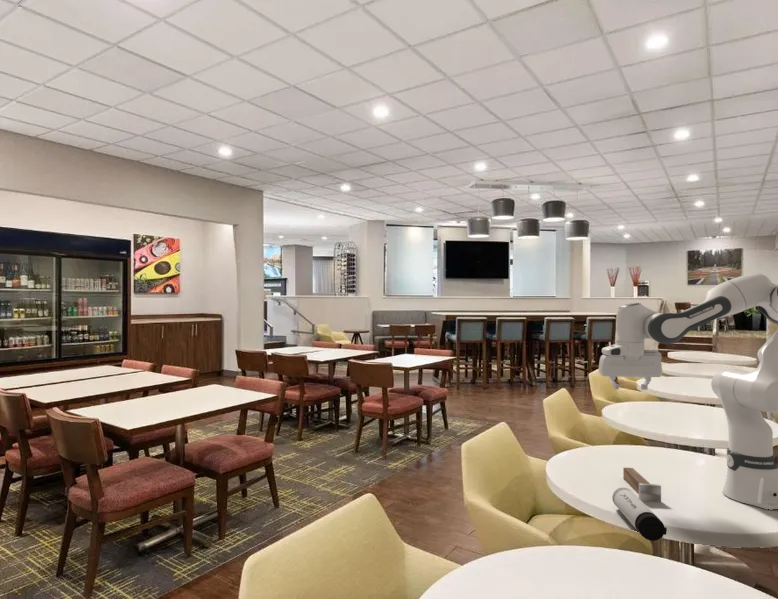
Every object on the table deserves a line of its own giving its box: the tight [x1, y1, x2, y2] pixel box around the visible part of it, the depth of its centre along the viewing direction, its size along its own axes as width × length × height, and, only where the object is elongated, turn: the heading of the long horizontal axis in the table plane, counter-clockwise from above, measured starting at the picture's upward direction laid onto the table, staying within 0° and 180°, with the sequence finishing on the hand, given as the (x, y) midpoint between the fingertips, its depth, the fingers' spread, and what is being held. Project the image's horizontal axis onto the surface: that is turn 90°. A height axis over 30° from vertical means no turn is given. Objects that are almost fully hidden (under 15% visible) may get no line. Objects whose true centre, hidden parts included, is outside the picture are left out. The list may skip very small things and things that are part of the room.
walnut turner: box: [622, 467, 662, 503], centre depth 158 cm, size 6×19×5 cm, turn 173°
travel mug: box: [611, 487, 667, 542], centre depth 134 cm, size 6×7×20 cm
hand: (630, 389), depth 170 cm, fingers open, 8 cm apart
